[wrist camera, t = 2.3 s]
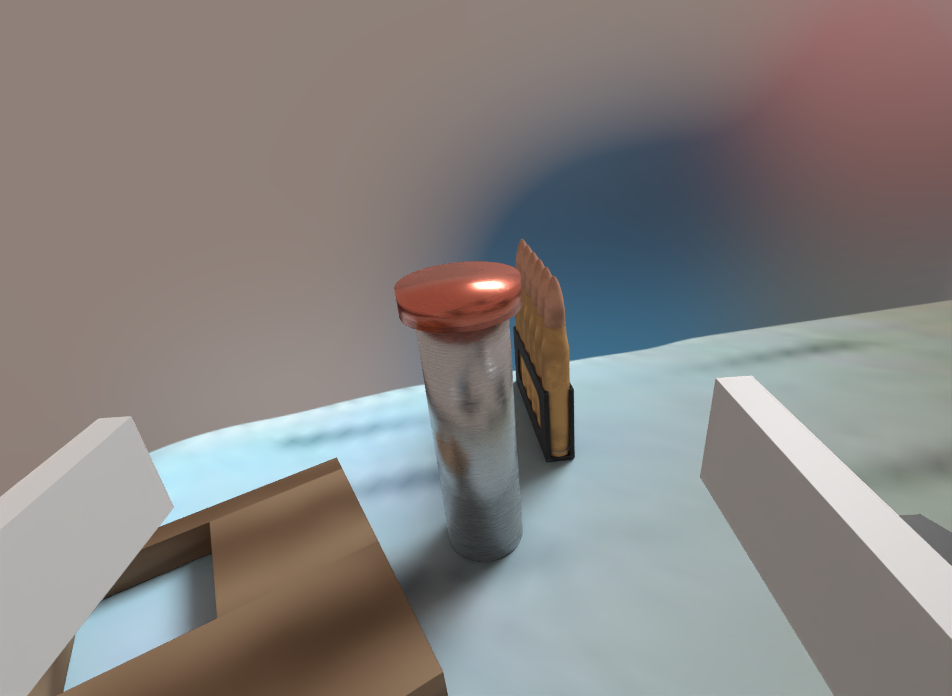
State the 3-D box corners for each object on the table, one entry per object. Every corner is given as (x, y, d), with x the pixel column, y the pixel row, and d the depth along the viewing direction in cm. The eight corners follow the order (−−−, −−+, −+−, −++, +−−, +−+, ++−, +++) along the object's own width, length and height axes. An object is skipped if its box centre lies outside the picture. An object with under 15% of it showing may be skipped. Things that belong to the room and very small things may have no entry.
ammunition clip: (575, 459, 30) (575, 279, 25) (546, 463, 30) (540, 283, 25) (537, 377, 40) (532, 234, 35) (516, 380, 40) (506, 237, 35)
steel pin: (553, 540, 25) (546, 279, 19) (466, 589, 23) (425, 314, 17) (500, 483, 29) (480, 254, 23) (422, 521, 27) (376, 280, 21)
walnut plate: (449, 702, 18) (443, 671, 18) (-66, 1047, 12) (-116, 1027, 11) (343, 482, 30) (336, 457, 30) (55, 602, 24) (35, 575, 23)
